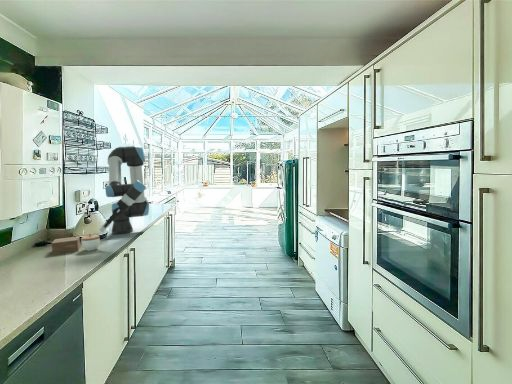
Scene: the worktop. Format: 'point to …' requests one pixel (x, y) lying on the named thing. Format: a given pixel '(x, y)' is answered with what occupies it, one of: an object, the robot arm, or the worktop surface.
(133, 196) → the robot arm
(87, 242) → the lidded jar
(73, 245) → the walnut block
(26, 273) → the worktop surface
